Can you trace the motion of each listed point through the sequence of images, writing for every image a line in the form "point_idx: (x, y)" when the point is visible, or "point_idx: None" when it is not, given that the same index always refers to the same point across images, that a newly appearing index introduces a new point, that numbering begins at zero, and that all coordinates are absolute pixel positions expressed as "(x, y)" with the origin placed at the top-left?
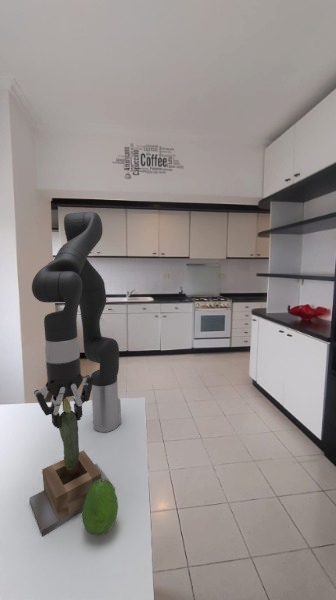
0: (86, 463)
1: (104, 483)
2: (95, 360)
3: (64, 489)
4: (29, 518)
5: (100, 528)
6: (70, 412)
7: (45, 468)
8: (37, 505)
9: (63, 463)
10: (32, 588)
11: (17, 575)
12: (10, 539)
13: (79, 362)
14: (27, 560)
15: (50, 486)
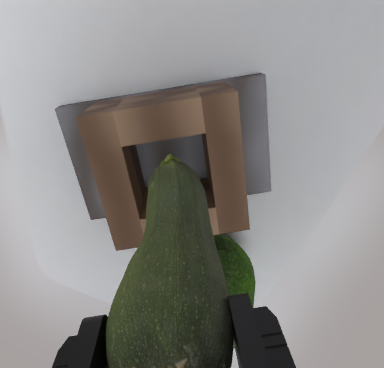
0: (224, 168)
1: (234, 346)
2: None
3: (140, 234)
4: (64, 154)
5: None
6: None
7: (87, 117)
8: (79, 147)
9: (152, 126)
10: (81, 285)
11: (54, 258)
12: (28, 187)
13: None
14: (69, 243)
15: (103, 206)
